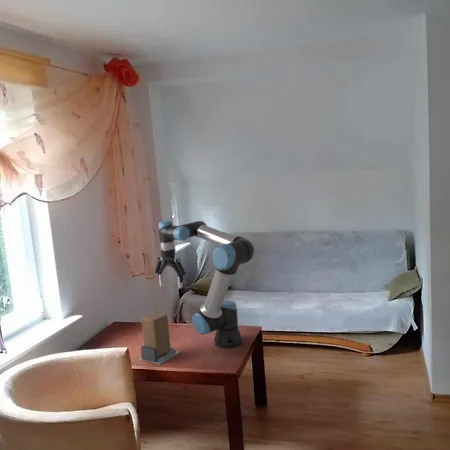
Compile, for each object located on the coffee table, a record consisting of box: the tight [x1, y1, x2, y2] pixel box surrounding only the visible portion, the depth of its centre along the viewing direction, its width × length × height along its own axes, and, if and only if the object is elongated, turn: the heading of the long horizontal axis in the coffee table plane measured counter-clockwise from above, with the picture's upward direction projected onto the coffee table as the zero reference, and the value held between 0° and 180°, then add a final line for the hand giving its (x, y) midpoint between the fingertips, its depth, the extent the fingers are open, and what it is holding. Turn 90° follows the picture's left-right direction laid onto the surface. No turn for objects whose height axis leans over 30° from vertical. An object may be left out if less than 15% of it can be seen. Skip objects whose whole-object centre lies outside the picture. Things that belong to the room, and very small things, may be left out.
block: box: [140, 311, 171, 357], centre depth 280 cm, size 10×10×20 cm
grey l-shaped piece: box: [138, 345, 181, 365], centre depth 283 cm, size 14×17×8 cm
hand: (171, 286), depth 300 cm, fingers open, 13 cm apart
